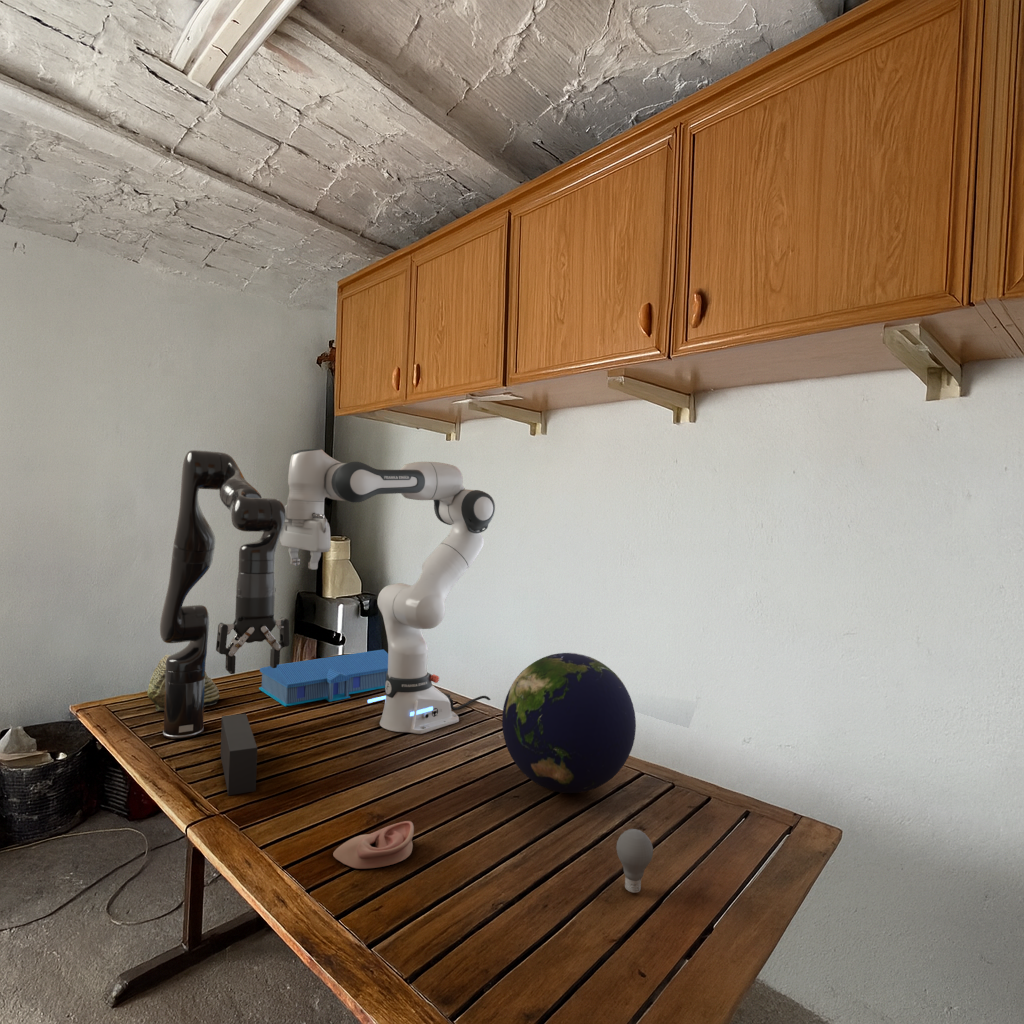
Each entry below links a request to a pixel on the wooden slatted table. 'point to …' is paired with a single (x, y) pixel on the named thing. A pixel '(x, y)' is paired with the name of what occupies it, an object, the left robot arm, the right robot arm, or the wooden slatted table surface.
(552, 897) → the wooden slatted table surface
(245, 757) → the bar
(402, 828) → the anatomical model
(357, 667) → the model building
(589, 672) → the globe
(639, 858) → the light bulb
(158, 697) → the fossil
